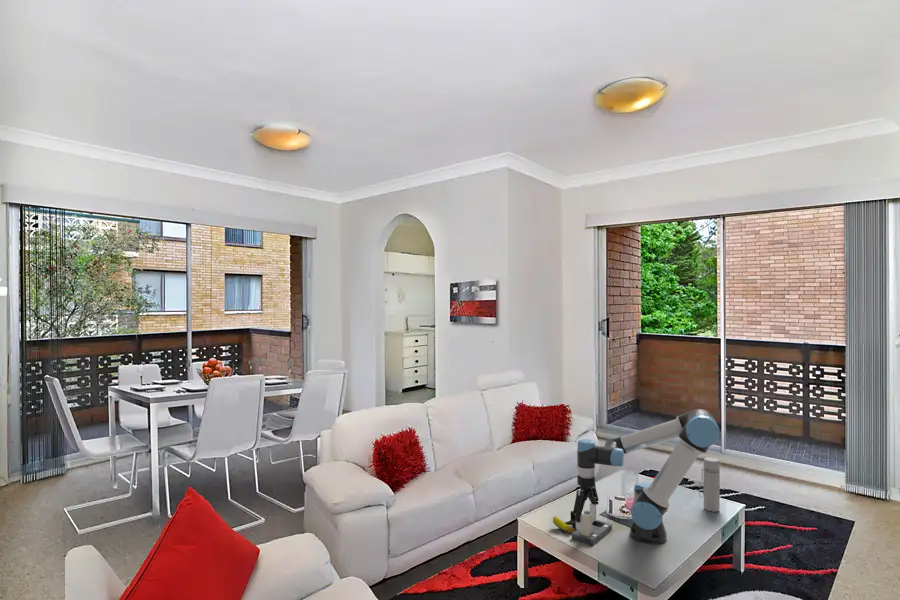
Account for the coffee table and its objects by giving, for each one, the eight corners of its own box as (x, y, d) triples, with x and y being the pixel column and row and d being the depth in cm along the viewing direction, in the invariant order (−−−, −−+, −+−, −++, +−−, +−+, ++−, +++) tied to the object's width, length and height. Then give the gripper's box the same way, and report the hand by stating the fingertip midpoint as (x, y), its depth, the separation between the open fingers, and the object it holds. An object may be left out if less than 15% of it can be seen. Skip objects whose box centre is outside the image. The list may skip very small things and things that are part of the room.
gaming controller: (550, 528, 241) (566, 536, 233) (550, 516, 241) (566, 524, 233) (573, 520, 250) (589, 528, 241) (573, 508, 250) (589, 516, 241)
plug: (592, 538, 231) (592, 512, 230) (588, 542, 227) (588, 515, 227) (583, 536, 233) (583, 509, 233) (579, 539, 230) (579, 512, 230)
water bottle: (720, 508, 262) (720, 458, 262) (718, 513, 256) (719, 462, 256) (700, 504, 267) (700, 455, 267) (698, 509, 261) (698, 459, 260)
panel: (612, 529, 239) (612, 523, 239) (592, 545, 224) (592, 539, 224) (591, 523, 246) (591, 517, 246) (571, 538, 230) (571, 532, 230)
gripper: (590, 466, 242) (590, 512, 242) (564, 481, 223) (564, 531, 223) (606, 470, 237) (606, 516, 237) (581, 485, 218) (581, 536, 218)
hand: (586, 523), depth 230 cm, fingers open, 13 cm apart
